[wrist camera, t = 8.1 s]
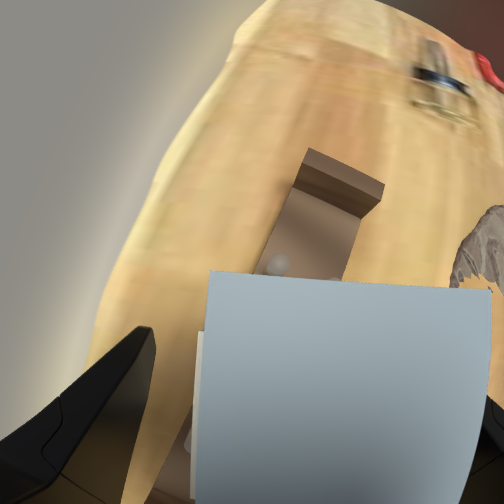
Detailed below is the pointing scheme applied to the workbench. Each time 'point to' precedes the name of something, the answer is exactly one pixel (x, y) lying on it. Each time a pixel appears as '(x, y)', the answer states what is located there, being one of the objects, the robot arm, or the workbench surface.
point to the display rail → (293, 266)
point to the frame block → (337, 391)
